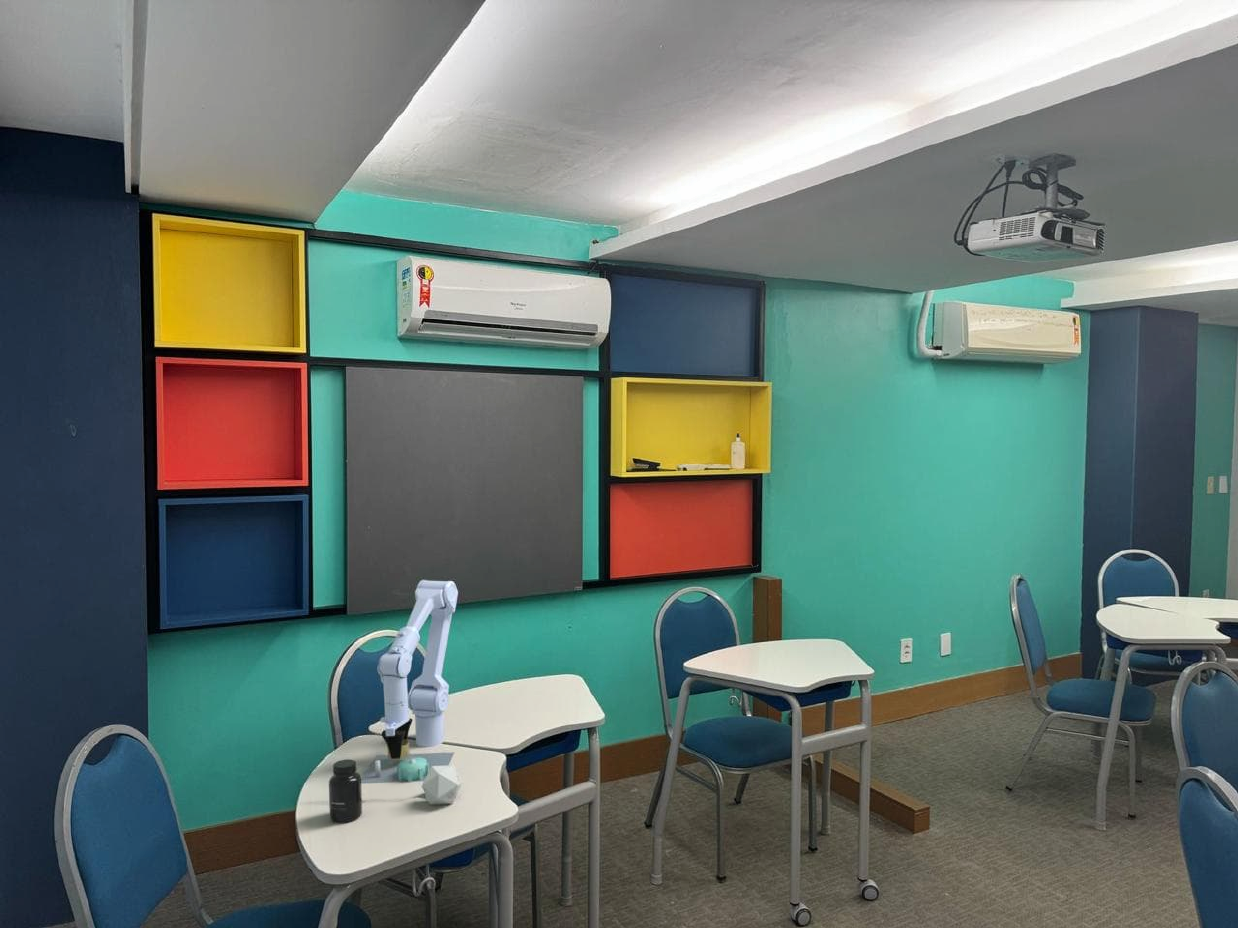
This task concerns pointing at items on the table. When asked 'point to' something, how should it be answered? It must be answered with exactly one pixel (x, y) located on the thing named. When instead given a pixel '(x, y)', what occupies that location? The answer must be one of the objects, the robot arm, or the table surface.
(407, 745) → the yellow faceted ring
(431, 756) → the gear board
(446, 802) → the die
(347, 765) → the supplement bottle
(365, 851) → the table surface
